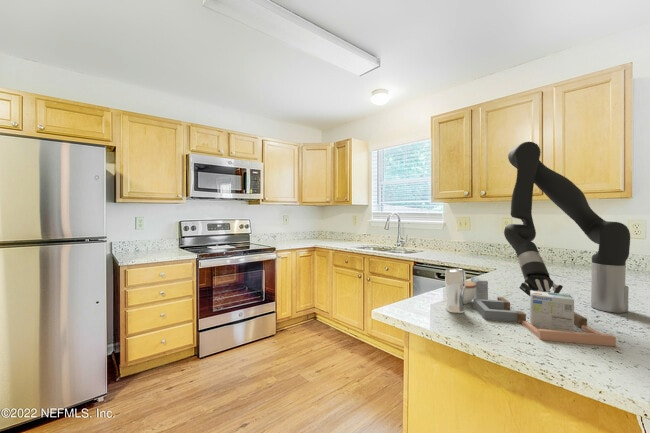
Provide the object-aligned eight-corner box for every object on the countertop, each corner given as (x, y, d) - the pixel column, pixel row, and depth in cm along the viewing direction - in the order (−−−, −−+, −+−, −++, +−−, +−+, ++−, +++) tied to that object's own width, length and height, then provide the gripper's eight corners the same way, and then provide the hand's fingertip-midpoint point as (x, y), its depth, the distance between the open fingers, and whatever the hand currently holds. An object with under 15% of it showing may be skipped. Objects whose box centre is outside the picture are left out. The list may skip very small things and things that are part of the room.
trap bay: (502, 308, 110) (502, 300, 110) (517, 321, 96) (517, 312, 96) (473, 306, 112) (473, 298, 112) (484, 319, 98) (484, 310, 98)
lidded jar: (448, 296, 126) (449, 274, 126) (476, 300, 121) (477, 277, 120) (445, 302, 117) (445, 279, 117) (475, 307, 111) (475, 282, 111)
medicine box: (488, 302, 117) (488, 281, 117) (476, 301, 118) (476, 280, 118) (481, 297, 125) (481, 277, 125) (470, 296, 126) (470, 276, 126)
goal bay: (587, 329, 90) (587, 321, 90) (615, 346, 79) (615, 337, 79) (522, 324, 94) (522, 316, 94) (540, 339, 83) (540, 330, 83)
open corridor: (552, 308, 110) (552, 300, 110) (587, 328, 91) (587, 318, 91) (497, 304, 115) (497, 296, 115) (519, 322, 95) (519, 313, 95)
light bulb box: (570, 328, 91) (570, 294, 91) (575, 335, 85) (575, 299, 85) (528, 321, 97) (529, 289, 97) (530, 328, 91) (531, 294, 91)
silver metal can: (469, 314, 104) (469, 272, 103) (449, 313, 104) (449, 272, 103) (460, 307, 110) (460, 268, 110) (441, 307, 111) (442, 268, 110)
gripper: (515, 259, 105) (530, 303, 93) (557, 261, 102) (578, 307, 90) (509, 271, 110) (523, 314, 98) (549, 273, 107) (568, 317, 95)
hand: (549, 310), depth 94 cm, fingers closed
